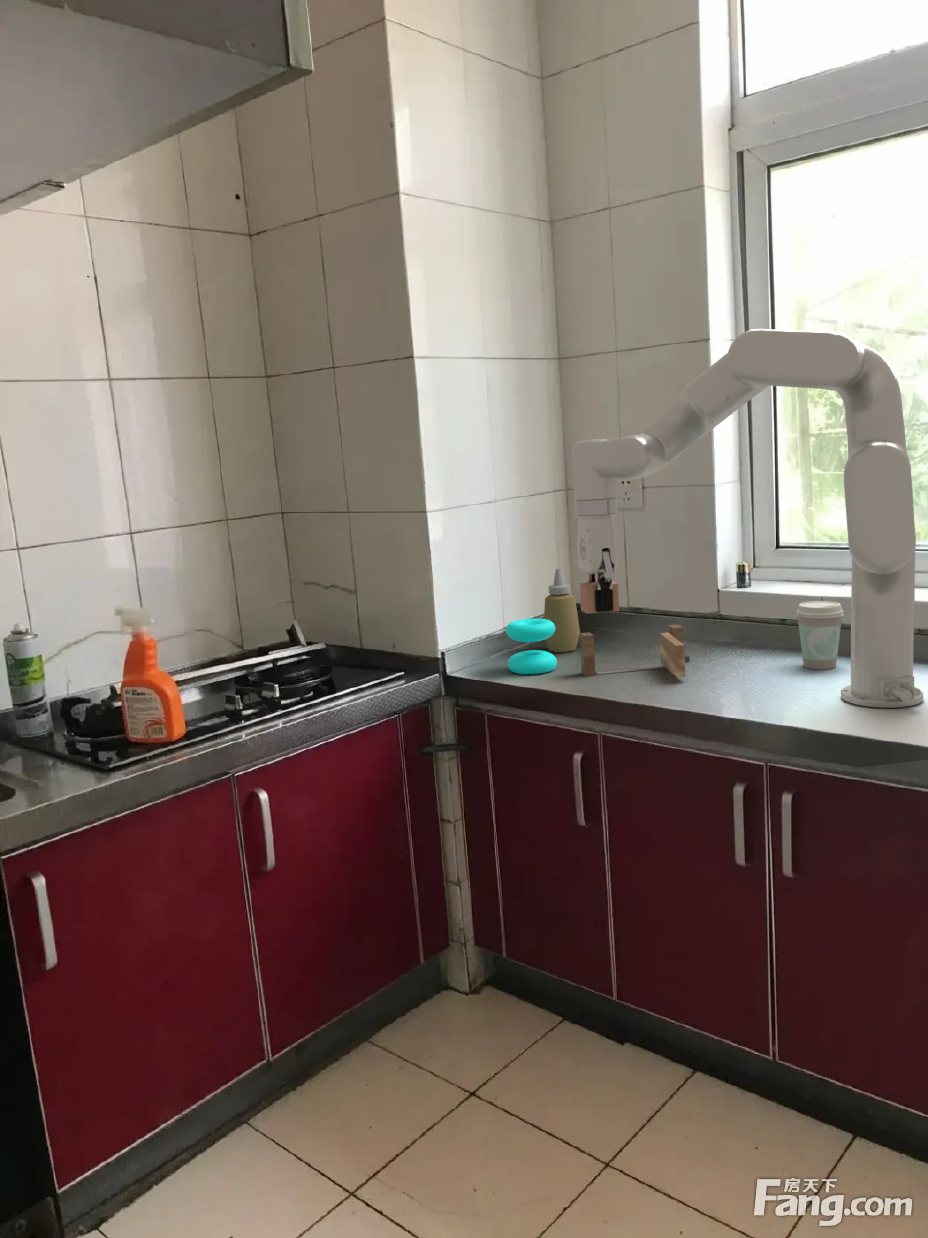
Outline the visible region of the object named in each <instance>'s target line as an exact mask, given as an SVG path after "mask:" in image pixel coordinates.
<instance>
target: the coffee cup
mask: <svg viewBox="0 0 928 1238" xmlns="http://www.w3.org/2000/svg"><path fill="white" fill-rule="evenodd" d="M795 615H796V617H797V623H798V630H799V631H798V632H799V638H800V639H799V641H800V647H801V655H802V664H803V667H804V668H805V669H810V670H819V671H820V670H831V669H834V668H836V666H837V661H838V651H839V644H840V637H841V636H840V634H841V630H842V629H841V628H842V627H841V626H842V621H843V620H842V619H843V616H844V615H845V614H844V609H843V607H842V605H841V603H840V602H836V601H827V600H825V601H824V600H812V601H805V602H804V601H803V602H801V603H799V604H798V607H797V610H796V613H795Z"/></svg>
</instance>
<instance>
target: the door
mask: <svg viewBox="0 0 928 1238" xmlns="http://www.w3.org/2000/svg"><path fill="white" fill-rule="evenodd" d="M659 639H660V640H659V641H660V642H659V644H660V645H659V646H660V647H659V649H660V665H664V666H665V667H666V668H665V669H667V670H668V671H669V672H670V673H672V674H673V676H675V677H676V678H686V664H688V663H690V660H691V659H690V654H689V653H686V652H685V651H686V649H685V647H686V645H685V644H684V643H683V644H682V643H681V642H680V641H678V640H677V639H676V638H674V637H673V636H672V635H671V634H669V633H668V632H662V633H661V632H660V633H659Z"/></svg>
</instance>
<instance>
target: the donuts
mask: <svg viewBox="0 0 928 1238" xmlns="http://www.w3.org/2000/svg"><path fill="white" fill-rule="evenodd" d="M554 632H555V625H554V623H553V622H552V621H550V620H546V619H544V618H523V619H517V620H514V621H511V622H509V623H508V624H507V625H506V627H505V633H506V635H507V637H508V638H510V639H511V640H513V641H516V642H521V643H535V642H540V641H545V639H547V638H549V637H551V636H552V635H553V634H554ZM557 664H558V660H557V658H556V656H555V655H554V654H553V653H551V652H550V651H547V650H546V651H545V650H535V649H529V650H523V651H520V652H516V653H515V654H514V653H513V654H512V655H511V656H510V657H509V658H508V661H507V667H508V669H509V671H511V672H513V673H515V674H518V675H527V674H530V675H540V674H541V673H542V674H546V673H549V672H551V671H553V670H554V669H556V667H557Z"/></svg>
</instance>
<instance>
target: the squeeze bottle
mask: <svg viewBox="0 0 928 1238" xmlns="http://www.w3.org/2000/svg"><path fill="white" fill-rule="evenodd" d="M553 579H554V580H553V583H552V584H551V585H549V586H548V593H549V595H547V596H546V597H545V598H544V609H543V610H544V613H543V619H546V620H550V621H552V622H553V623H554V625H555V632H554V634H553V635H552V636H551V637H549V638H547V639H545V640H544V641H545V644H546V646H547V648H548V651H549V652H552V651H554V652H553V653H568V652H569V651H570V652H572V651H575V650H576V649H577V646H578V643H579V640H580V633H581V628H580V623H579V616H578V609H577V602H576V597H575V596H574V595H573V594H571V585H570V584H566V582H565V579H564V574H563V570H562V568H557V569H555V572H554V578H553ZM570 652H569V653H570Z"/></svg>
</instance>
